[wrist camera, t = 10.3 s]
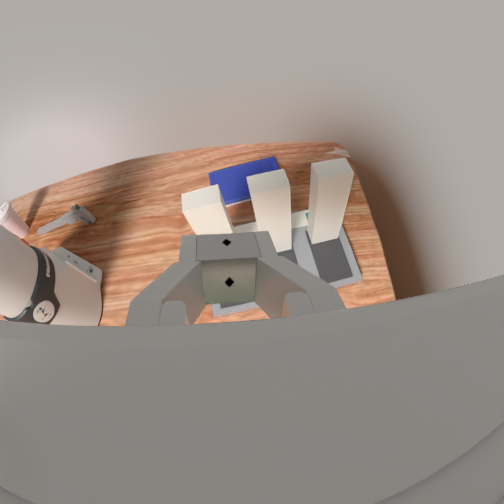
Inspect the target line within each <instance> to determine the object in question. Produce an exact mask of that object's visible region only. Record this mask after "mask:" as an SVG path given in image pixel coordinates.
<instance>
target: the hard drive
mask: <svg viewBox="0 0 504 504" xmlns="http://www.w3.org/2000/svg"><path fill="white" fill-rule="evenodd" d="M274 170H279V167H278V165H277V162H276V160H275V158H274V156H273V157H269V158H265V159H261V160H257V161H252V162H248V163H244V164H240V165H236V166H233V167H229V168H225V169H222V170H218V171H214V172H211V173H208V175H209V180H210V186H213V185H216V184H218V186H219V188H220V191H221V194H222V197H223V200H224V202H225V205H226V207H229V206H232V205H236V204H240V203H244V202H247V201H251V196H250V192H249V187H248V183H247V178H246V177H248V176H252V175H256V174H261V173H265V172H270V171H274Z"/></svg>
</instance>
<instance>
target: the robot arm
mask: <svg viewBox="0 0 504 504" xmlns="http://www.w3.org/2000/svg"><path fill="white" fill-rule="evenodd" d="M92 271H93V272H92ZM101 281H102V270H101V269H100V268H98V267H96V266H94V265H93V264H91V263H89V262H87V261H86V260H84V259H82V258H80V257H79V256H77V255H75V254H73V253H72V252H70V251H68V250H67V249H65V248H63V247H61V246H60V247H58V248H57V249H55V250H54V251H53V252H51V251H50V250H49V249H47V248H46V247H42V248H40V249H39V248H36V247H34V246H29V244H28V243H27V241H25V240H24V239H23V238H21V240H20V239H19V238H18V237H16V236H15V235H14V234H12V233H11V232H10V231H9V230H7V229H6V228H5V227H4V226H2V225H0V314H1V315H3V316H4V318H5V319H7V320H8V321H3V320H0V504H504V275H501V276H498V277H494V278H491V279H487V280H483V281H480V282H476V283H472V284H468V285H464V286H460V287H456V288H452V289H448V290H444V291H439V292H435V293H430V294H425V295H421V296H416V297H411V298H406V299H401V300H395V301H390V302H385V303H379V304H373V305H367V306H361V307H355V308H349V309H346V307H345V305H344V303H343V301H342V299H341V297H340V296H339V294H338V292H337V290H336V288H335V287H334V286H332V285H330V284H329V283H327V282H325V281H324V280H322V279H320V278H319V277H317V276H315V275H314V274H312V273H310V272H309V271H307V270H305V269H304V268H302V267H300V266H298V265H297V264H295V263H293V262H292V261H290V260H288V259H287V258H285V257H283V256H278V254H277V251H276V249H275V246H274V244H273V241H272V239H271V236H270V234H269V232H268V231H257V232H243V233H230V234H199V235H196V234H195V235H183V236H182V238H181V246H180V255H179V262H175V263H173V264H172V265H171V266H170V267H169V268H168V269H167V270H165V271H164V272H163V273H162V274H161V275H160V276H159V277H157V278H156V279H155V280H154V281H153V282H152V283H151V284H150V285H148V286H147V287H146V288H145V289H144V290H143V291H142V292H141V293H140V294H138V295H137V296H136V297H135V298H134V299H133V300H132V301H131V302H130V307H129V311H128V315H127V320H126V324H125V326H98V323H99V320H100V316H101V310H102V298H101V291H100V285H101ZM251 301H255V303H256V304H257V305H258V306H259V307H260V308H261V309H262V310H263V311H264V312H265V313H266V314H267V315H268V316H269V317H270V318H271V319H261V320H250V321H238V322H224V323H209V324H194V322H195V321H196V319H197V318H198V316H199V315H200V313H201V312H202V310H203V309H204V308H205V305H209V304H220V303H231V302H251Z"/></svg>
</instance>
